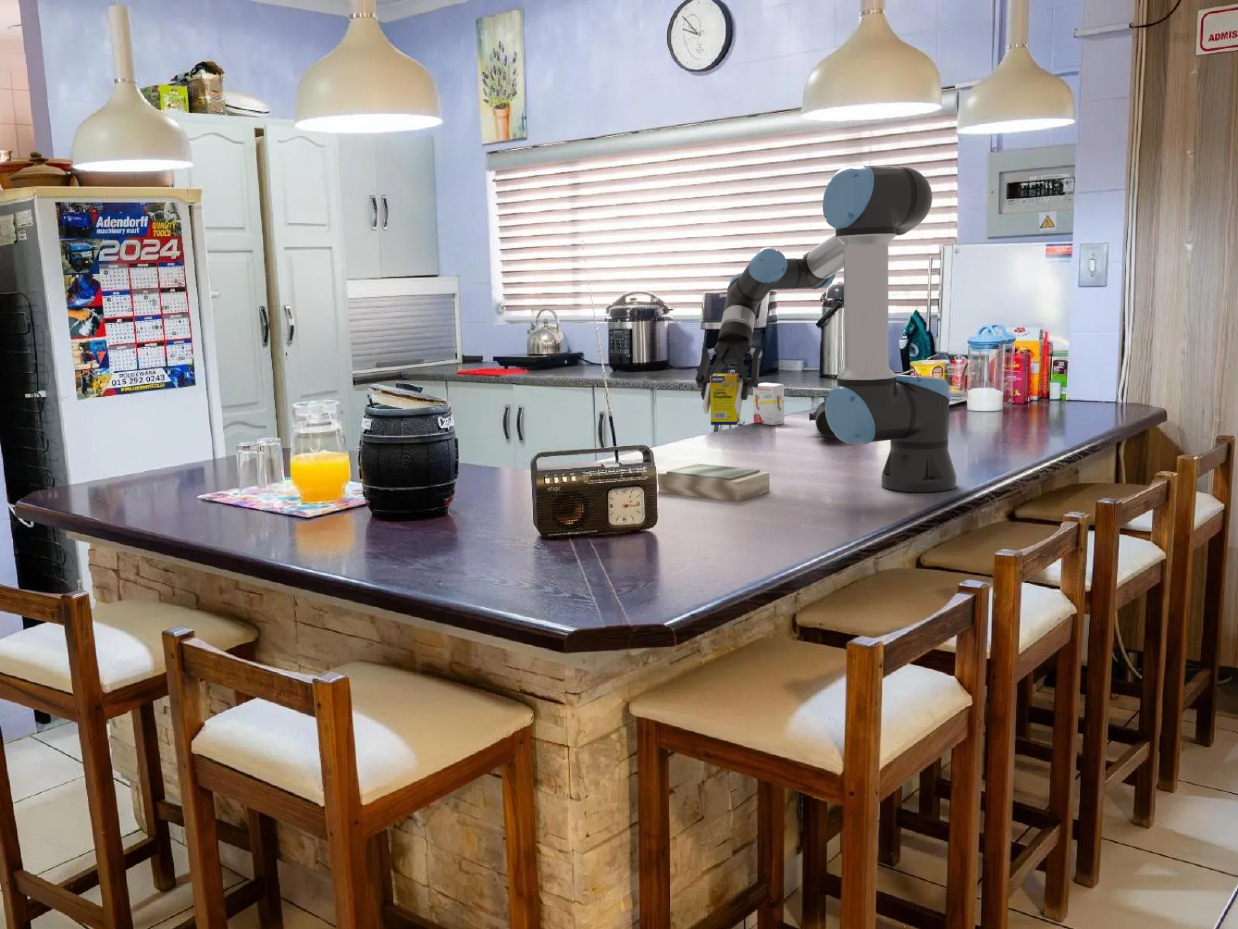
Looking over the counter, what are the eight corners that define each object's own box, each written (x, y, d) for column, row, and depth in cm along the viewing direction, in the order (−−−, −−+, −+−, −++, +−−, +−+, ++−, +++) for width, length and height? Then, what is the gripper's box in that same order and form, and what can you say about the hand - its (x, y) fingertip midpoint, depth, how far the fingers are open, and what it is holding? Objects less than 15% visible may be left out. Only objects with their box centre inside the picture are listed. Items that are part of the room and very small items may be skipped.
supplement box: (737, 425, 243) (736, 375, 242) (710, 425, 245) (709, 375, 243) (740, 421, 249) (739, 372, 247) (713, 422, 250) (712, 373, 249)
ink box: (752, 423, 336) (752, 383, 334) (764, 421, 339) (763, 382, 337) (773, 425, 330) (773, 385, 328) (785, 423, 333) (784, 384, 331)
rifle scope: (845, 428, 320) (845, 393, 318) (851, 441, 294) (851, 404, 293) (808, 428, 321) (808, 393, 320) (810, 442, 296) (810, 404, 294)
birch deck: (769, 491, 233) (769, 470, 232) (738, 501, 224) (737, 479, 223) (690, 482, 245) (690, 462, 245) (658, 491, 236) (657, 471, 235)
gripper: (780, 340, 255) (768, 420, 243) (698, 342, 261) (681, 420, 249) (776, 318, 249) (762, 399, 237) (692, 320, 256) (674, 399, 243)
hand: (721, 409), depth 243 cm, fingers closed on supplement box, 6 cm apart
